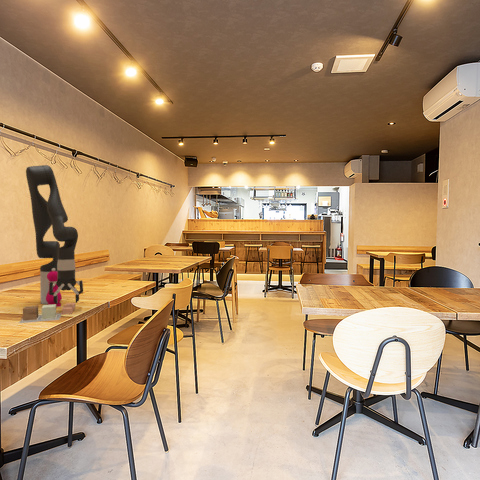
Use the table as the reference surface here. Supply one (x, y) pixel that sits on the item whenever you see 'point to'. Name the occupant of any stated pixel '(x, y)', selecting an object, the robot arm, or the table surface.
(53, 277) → the pepper mill
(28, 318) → the walnut cube
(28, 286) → the table surface
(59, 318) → the board
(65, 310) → the lintel
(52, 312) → the sage cube
